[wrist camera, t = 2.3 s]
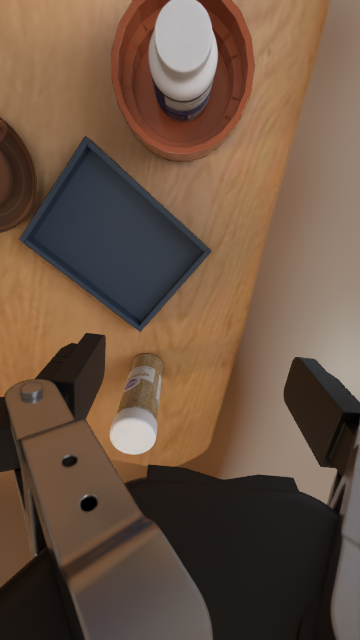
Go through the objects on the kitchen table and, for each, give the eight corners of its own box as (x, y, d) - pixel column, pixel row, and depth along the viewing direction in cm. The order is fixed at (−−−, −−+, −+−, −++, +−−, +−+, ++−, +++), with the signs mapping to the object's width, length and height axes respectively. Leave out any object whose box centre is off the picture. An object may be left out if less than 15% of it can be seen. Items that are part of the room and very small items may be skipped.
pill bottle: (156, 54, 27) (144, -25, 18) (212, 59, 27) (228, -17, 18) (154, 121, 29) (142, 80, 20) (206, 125, 29) (218, 87, 20)
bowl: (97, 100, 29) (83, 81, 25) (175, -24, 25) (174, -71, 21) (187, 187, 32) (188, 183, 27) (268, 85, 28) (283, 63, 24)
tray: (27, 238, 34) (18, 239, 32) (91, 140, 30) (85, 135, 28) (142, 326, 38) (140, 332, 36) (209, 249, 34) (211, 251, 32)
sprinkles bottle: (145, 346, 39) (128, 411, 26) (170, 365, 40) (165, 437, 27) (124, 368, 40) (98, 440, 27) (149, 386, 41) (135, 464, 28)
